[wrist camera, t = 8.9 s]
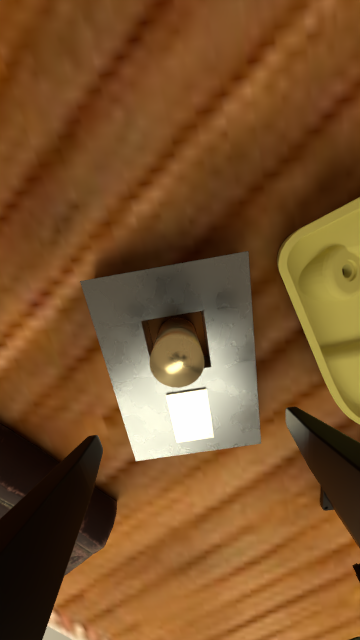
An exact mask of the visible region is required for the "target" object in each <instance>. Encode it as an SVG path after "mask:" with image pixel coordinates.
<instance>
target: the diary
mask: <svg viewBox="0 0 360 640" xmlns="http://www.w3.org/2000/svg"><path fill="white" fill-rule="evenodd" d="M58 464H59V462H57V461H56V460H55V459H53V458H52V457H51V456H49V455H48V454H46V453H45V452H44V451H42V450H41V449H39V448H38V447H36V446H35V445H33V444H31V443H30V442H28V441H27V440H25V439H24V438H22V437H21V436H19V435H17V434H16V433H14V432H13V431H11V430H9V429H8V428H6V427H5V426H3V425H1V424H0V518H2V517H3V516H4V515H5V514H6V513H7V512H8V511H9V510H10V509H11V508H12V507H13V506H14V505H15V504H17V503H18V502H19V501H20V500H21V499H22V498H23V497H24V496H25V495H26V494H27V493H28V492H29V491H30V490H32V489H33V488H34V487H35V486H36V485H37V484H38V483H39V482H40V481H41V480H42V479H43V478H44V477H45V476H46V475H48V474H49V473H50V472H51V471H52V470H53V469H54V468H55V467H56V466H57V465H58ZM116 510H117V502H116V501H115V500H113V499H112V498H110V497H109V496H107V495H106V494H104V493H103V492H101V491H100V490H98V489H97V488H95V487H94V488H93V492H92V495H91V498H90V502H89V504H88V507H87V510H86V513H85V516H84V519H83V522H82V525H81V528H80V531H79V534H78V537H77V540H76V542H75V545H74V548H73V551H72V554H71V557H70V560H69V563H68V566H67V569H66V572H65V575H66V574H68V573H69V572H70V571H72V570H73V569H74V568H76V567H77V566H78V565H80V564H81V563H82V562H84V561H85V560H86V559H87V558H89V557H90V556H91V555H92V554H94V553H96V552H97V551H99V550H101V549H102V548H104V546H105V544H106V542H107V540H108V537H109V535H110V532H111V530H112V528H113V524H114V521H115V517H116ZM65 575H64V576H65Z"/></svg>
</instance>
